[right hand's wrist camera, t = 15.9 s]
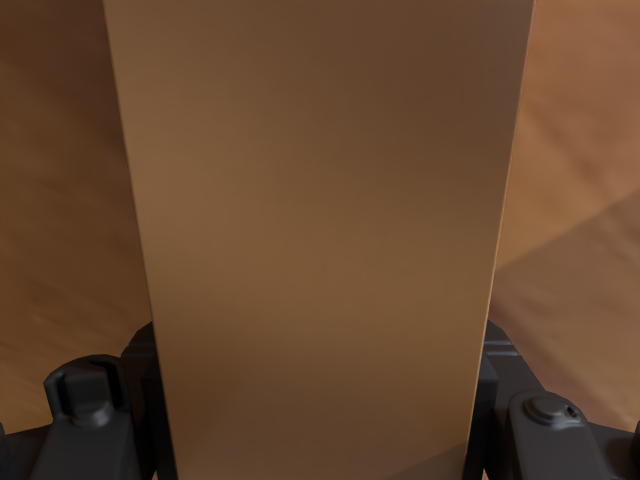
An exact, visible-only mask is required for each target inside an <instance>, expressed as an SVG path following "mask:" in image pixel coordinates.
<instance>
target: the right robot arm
mask: <svg viewBox="0 0 640 480" xmlns="http://www.w3.org/2000/svg"><path fill="white" fill-rule="evenodd" d="M43 384H44V388H45V391H46V395H47V399H48V402H49V406H50V410H51V413H52V417H53V422H52V424H49V425H46V426H42V427H39V428H34V429H30V430H25V431H21V432H17V433H12V434H8V435H6V434H5V431H4V428H3V425H2V423H0V480H152V478H153V475H154V473H155V470H156V472H157V477H158V480H177V474H176V468H175V462H174V456H173V449H172V443H171V437H170V430H169V424H168V418H167V411H166V405H165V399H164V392H163V386H162V380H161V374H160V367H159V361H158V355H157V348H156V342H155V336H154V329H153V323H152V321H151V322H150V323H148V324H147V325H145V326H144V327H142V328H141V329H140V330H138V331H137V332H136V334H135V335H134V337H133V338H132V340H131V341H130V342H129V346H127V347H126V348H125V350H124V351H123V352H122V354H121V357H119V358H118V357H115V356H111V355H107V354H101V355H89V356H85V357H81V358H77V359H75V360H72V361H70V362H68V363H66V364H63V365H62V366H60V367H59V368H57V369H56V370H54V371H53V372H52V373H50V375H49V376H48V377H47V378H46V380H45V381H44V382H43ZM484 469H485V472H486V474H487V476H488V479H489V480H640V421H639V422H638V424H637V427H636V430H635V433H632V432H627V431H623V430H619V429H614V428H610V427H605V426H601V425H597V424H594V423H590V422H588V421H587V419H586V418H585V416H584V415H583V413H582V412H581V410H580V409H579V408H578V407H576V406H575V405H574V404H573V403H571V402H570V401H569V400H567V399H565V398H563V397H561V396H559V395H557V394H555V393H551V392H548V391H545V389H544V388H543V387H542V385H541V384H540V382H539V381H538V379H537V378H536V377H535V375H534V374H533V372H532V371H531V370H530V368H529V367H528V365H527V364H526V362H525V361H524V360H523V358H522V357H521V356H519V352H518V351H517V350H516V348H515V347H514V345H511V341H510V340H509V338H508V337H507V335H506V334H505V333H504V331H503V330H502V329H501V328H499V327H498V326H497V325H495V324H494V323H492V322H491V321H489V320H488V319H487V324H486V330H485V337H484V343H483V350H482V356H481V363H480V369H479V376H478V382H477V388H476V395H475V401H474V408H473V414H472V421H471V427H470V434H469V440H468V447H467V453H466V460H465V466H464V473H463V479H462V480H482V475H483V470H484Z"/></svg>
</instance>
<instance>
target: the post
mask: <svg viewBox="0 0 640 480" xmlns="http://www.w3.org/2000/svg"><path fill="white" fill-rule="evenodd" d="M101 1H102V7H103V14H104V20H105V26H106V33H107V39H108V45H109V52H110V58H111V64H112V71H113V77H114V83H115V89H116V96H117V102H118V108H119V115H120V121H121V127H122V134H123V140H124V146H125V153H126V159H127V165H128V172H129V178H130V184H131V190H132V197H133V203H134V209H135V216H136V222H137V228H138V235H139V241H140V247H141V254H142V260H143V266H144V273H145V279H146V285H147V291H148V298H149V304H150V310H151V317H152V323H153V329H154V336H155V342H156V348H157V355H158V361H159V367H160V374H161V380H162V386H163V392H164V399H165V405H166V411H167V418H168V424H169V430H170V437H171V443H172V449H173V456H174V462H175V468H176V474H177V480H462V479H463V473H464V466H465V460H466V453H467V447H468V440H469V434H470V427H471V421H472V414H473V408H474V401H475V395H476V388H477V382H478V376H479V369H480V363H481V356H482V350H483V343H484V337H485V330H486V324H487V317H488V311H489V304H490V298H491V291H492V285H493V278H494V272H495V265H496V259H497V252H498V246H499V239H500V233H501V226H502V220H503V213H504V207H505V200H506V194H507V187H508V181H509V174H510V168H511V161H512V155H513V149H514V142H515V136H516V129H517V123H518V116H519V110H520V103H521V97H522V90H523V84H524V77H525V71H526V64H527V58H528V51H529V45H530V38H531V32H532V25H533V19H534V12H535V6H536V0H101Z"/></svg>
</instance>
